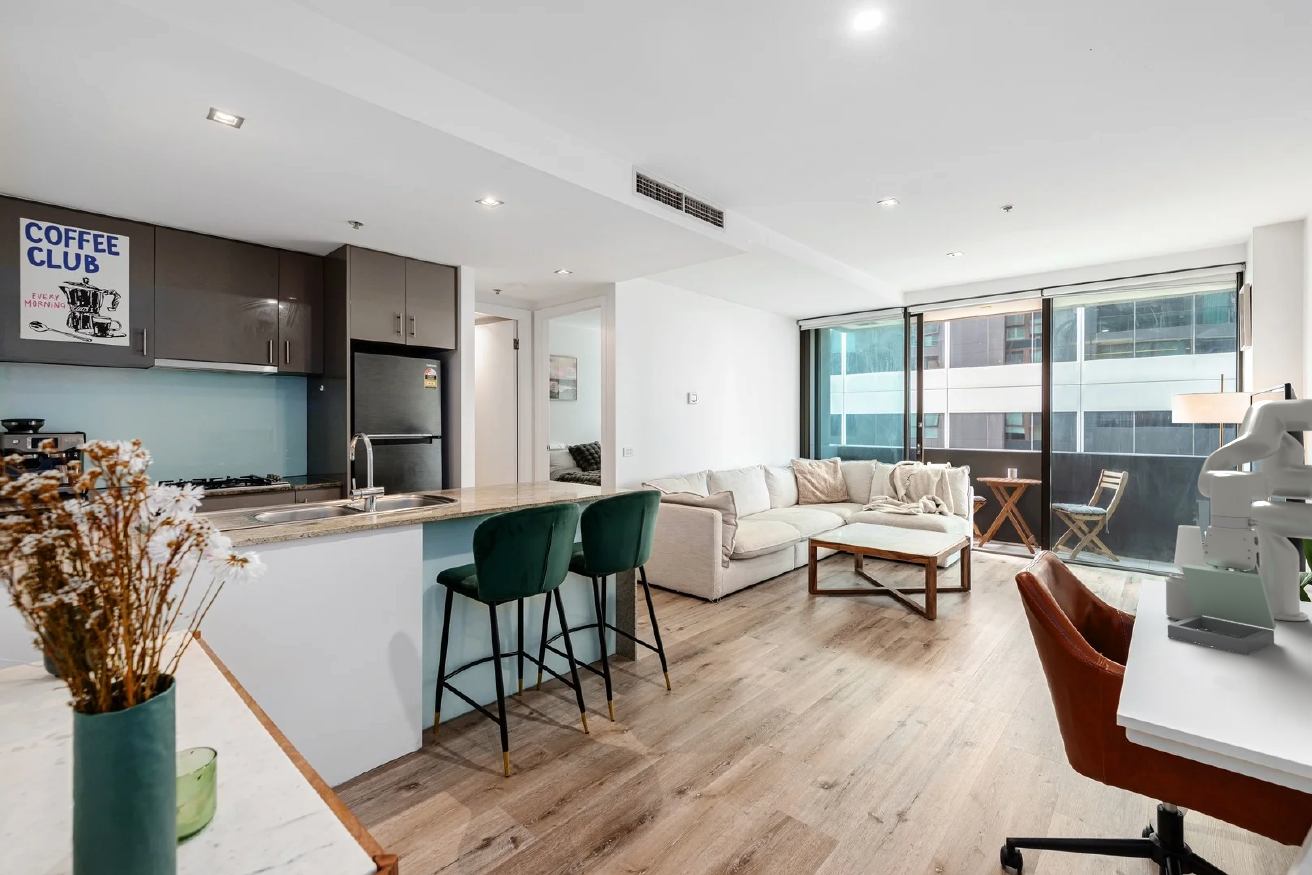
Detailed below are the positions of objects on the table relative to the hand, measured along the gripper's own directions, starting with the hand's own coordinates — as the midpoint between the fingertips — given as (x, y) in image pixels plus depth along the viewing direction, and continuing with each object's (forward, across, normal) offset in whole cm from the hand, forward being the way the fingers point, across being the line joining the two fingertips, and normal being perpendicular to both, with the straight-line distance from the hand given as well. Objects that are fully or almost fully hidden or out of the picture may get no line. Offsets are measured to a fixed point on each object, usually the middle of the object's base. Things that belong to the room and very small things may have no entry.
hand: (1231, 595), depth 156 cm
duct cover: (0, 0, +3) cm, 3 cm away
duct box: (+10, 0, +7) cm, 12 cm away
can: (+10, +12, -6) cm, 17 cm away
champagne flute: (+10, +15, -18) cm, 25 cm away
